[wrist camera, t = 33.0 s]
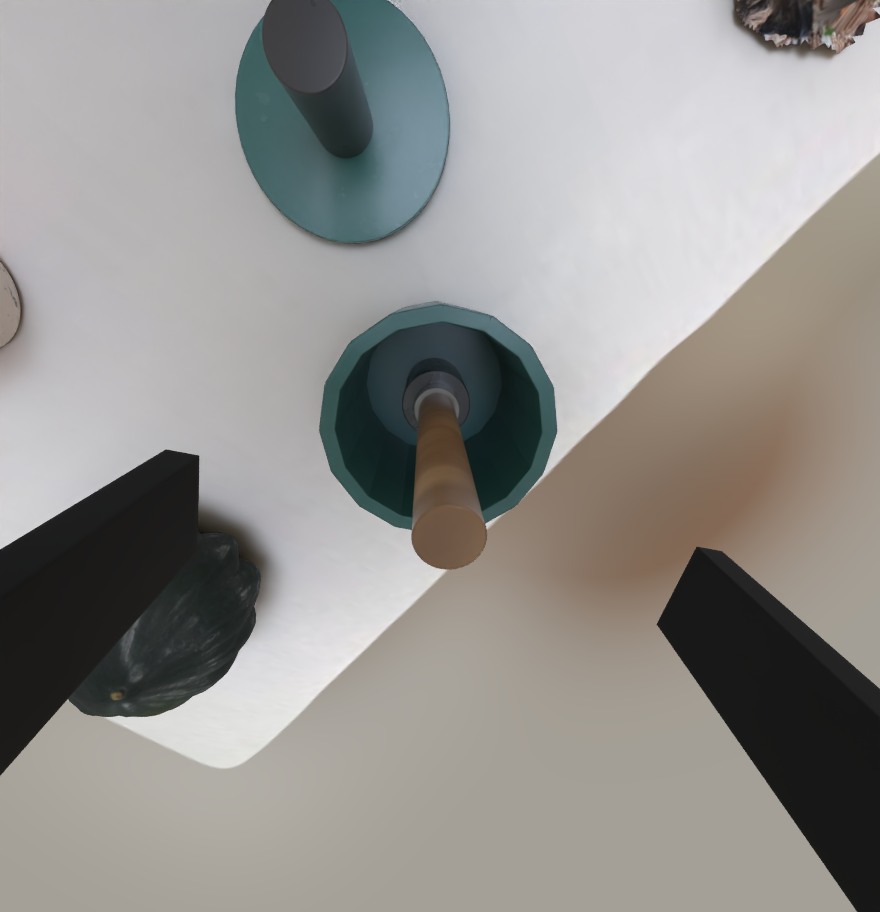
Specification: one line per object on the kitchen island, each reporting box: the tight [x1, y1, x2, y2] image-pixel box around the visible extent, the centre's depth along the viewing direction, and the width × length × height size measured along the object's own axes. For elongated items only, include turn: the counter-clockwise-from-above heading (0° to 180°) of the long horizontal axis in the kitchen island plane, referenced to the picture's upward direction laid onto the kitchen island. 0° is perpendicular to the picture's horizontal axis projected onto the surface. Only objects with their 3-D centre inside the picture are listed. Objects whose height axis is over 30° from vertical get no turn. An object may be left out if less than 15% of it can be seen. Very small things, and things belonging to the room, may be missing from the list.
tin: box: [319, 301, 557, 530], centre depth 27 cm, size 12×12×13 cm
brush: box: [402, 358, 487, 569], centre depth 22 cm, size 4×4×22 cm
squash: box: [68, 529, 261, 717], centre depth 33 cm, size 14×15×15 cm
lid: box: [235, 0, 450, 243], centre depth 22 cm, size 13×13×10 cm
